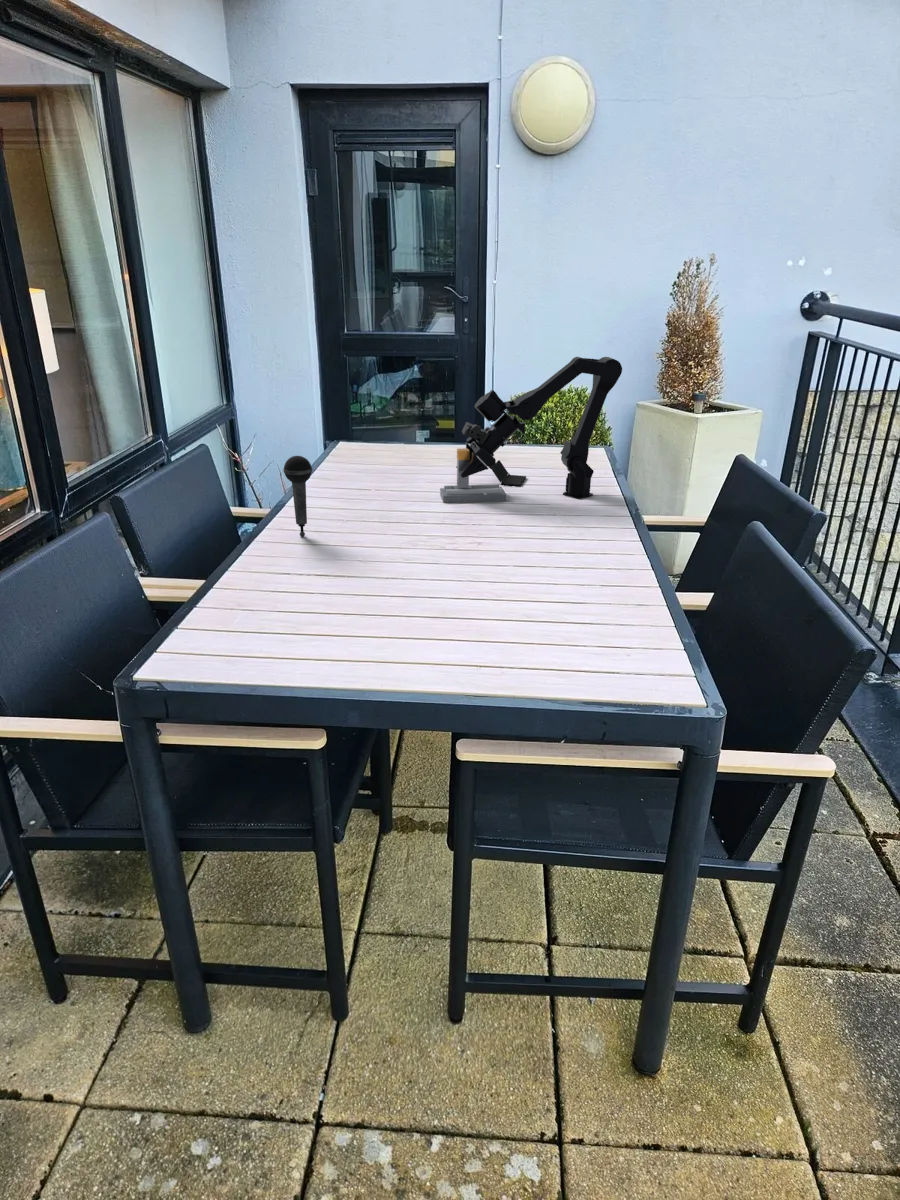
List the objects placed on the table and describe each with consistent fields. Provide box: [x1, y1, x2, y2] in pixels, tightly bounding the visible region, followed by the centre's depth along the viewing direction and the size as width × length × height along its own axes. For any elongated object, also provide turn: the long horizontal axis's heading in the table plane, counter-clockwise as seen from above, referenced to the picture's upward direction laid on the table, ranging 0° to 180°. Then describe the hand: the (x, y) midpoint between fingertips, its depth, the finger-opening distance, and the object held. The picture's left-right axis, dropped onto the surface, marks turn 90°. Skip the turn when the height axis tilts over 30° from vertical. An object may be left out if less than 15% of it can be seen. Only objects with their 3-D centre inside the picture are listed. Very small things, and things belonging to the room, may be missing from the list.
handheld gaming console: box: [490, 459, 527, 488], centre depth 243 cm, size 12×7×10 cm
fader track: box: [439, 483, 507, 504], centre depth 225 cm, size 18×8×3 cm, turn 97°
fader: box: [453, 448, 472, 489], centre depth 222 cm, size 5×3×12 cm, turn 97°
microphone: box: [282, 455, 313, 538], centre depth 189 cm, size 7×7×20 cm
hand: (459, 472), depth 222 cm, fingers open, 9 cm apart
